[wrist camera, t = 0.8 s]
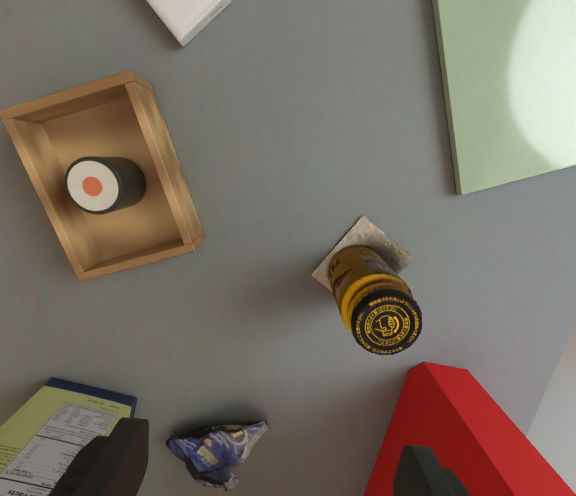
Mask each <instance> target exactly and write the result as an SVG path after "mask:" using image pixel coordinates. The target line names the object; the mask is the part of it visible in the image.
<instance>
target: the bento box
mask: <svg viewBox="0 0 576 496" xmlns="http://www.w3.org/2000/svg"><path fill="white" fill-rule="evenodd" d="M0 116H1V119H2V120H3V123H4V125H5V127H6V129H7V131H8V133H9V135H10V137H11V140H12V142H13V144H14V146H15V148H16V150H17V152H18V154H19V156H20V158H21V160H22V163H23V165H24V167H25V169H26V171H27V173H28V175H29V177H30V179H31V181H32V183H33V186H34V188H35V190H36V192H37V194H38V196H39V198H40V200H41V202H42V204H43V206H44V209H45V211H46V213H47V215H48V217H49V219H50V221H51V223H52V225H53V227H54V230H55V232H56V234H57V236H58V238H59V240H60V242H61V244H62V246H63V248H64V250H65V253H66V255H67V257H68V259H69V261H70V263H71V265H72V267H73V269H74V271H75V273H76V274H77V277H78V279H79V281H85V280H88V279H92V278H96V277H99V276H103V275H107V274H111V273H114V272H118V271H122V270H126V269H129V268H133V267H137V266H140V265H144V264H148V263H152V262H155V261H159V260H163V259H167V258H170V257H174V256H178V255H182V254H185V253H189V252H193V251H195V250H196V249H197V248H198V247H199V246H200V245H201V244H202V243H203V242H204V241H205V240H206V238H205V235H204V232H203V230H202V227H201V224H200V221H199V218H198V215H197V213H196V210H195V207H194V204H193V201H192V198H191V195H190V193H189V190H188V187H187V184H186V181H185V178H184V175H183V173H182V170H181V167H180V164H179V161H178V158H177V155H176V153H175V150H174V147H173V144H172V141H171V138H170V136H169V133H168V130H167V127H166V124H165V121H164V118H163V116H162V113H161V110H160V107H159V104H158V101H157V98H156V96H155V93H154V90H153V87H152V84H151V83H150V82H149V81H147V80H145V79H143V78H142V77H140V76H138V75H136V74H135V73H133V72H131V71H125V72H122V73H119V74H116V75H113V76H109V77H106V78H103V79H100V80H96V81H93V82H90V83H87V84H83V85H80V86H77V87H74V88H71V89H67V90H64V91H61V92H58V93H54V94H51V95H48V96H45V97H42V98H38V99H35V100H32V101H29V102H25V103H22V104H19V105H16V106H12V107H9V108H6V109H3V110H0ZM88 156H96V157H123V158H127V159H129V160H131V161H133V162H134V163H136V164H137V165H138V166H139V167H140V169H141V170H142V172H143V174H144V176H145V179H146V192H145V194H144V196H143V198H142V199H141V200H140V201H139V202H138V203H137V204H135V205H133V206H130V207H127V208H123V209H120V210H117V211H113V212H110V213H106V214H101V215H96V214H90V213H87V212H85V211H83V210H81V209H80V208H78V207H77V206H76V205H75V204H74V203H73V202H72V201H71V199H70V198H69V196H68V194H67V191H66V188H65V174H66V171H67V169H68V167H69V166H70V165H71V164H72V163H73V162H74V161H75V160H77V159H79V158H82V157H88Z"/></svg>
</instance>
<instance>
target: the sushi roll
mask: <svg viewBox="0 0 576 496" xmlns="http://www.w3.org/2000/svg"><path fill="white" fill-rule="evenodd" d="M65 188H66V191H67V194H68V196H69V198H70V199H71V201H72V202H73V203H74V204H75V205H76V206H77V207H78V208H80V209H81V210H83V211H85V212H87V213H90V214H96V215H101V214H106V213H110V212H113V211H117V210H120V209H123V208H127V207H130V206H133V205H135V204H137V203H138V202H139V201H140V200H141V199H142V198H143V196H144V194H145V192H146V179H145V176H144V174H143V172H142V170H141V169H140V167H139V166H138V165H137V164H136V163H134V162H133V161H131V160H129V159H127V158H123V157H96V156H88V157H82V158H79V159H77V160H75V161H74V162H73V163H72V164H71V165H70V166H69V167H68V169H67V171H66V174H65Z"/></svg>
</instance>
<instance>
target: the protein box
mask: <svg viewBox="0 0 576 496" xmlns="http://www.w3.org/2000/svg"><path fill="white" fill-rule="evenodd" d="M136 401H137V399H136V398H135V397H131V396H126V395H122V394H118V393H114V392H110V391H106V390H102V389H97V388H93V387H89V386H85V385H80V384H76V383H72V382H68V381H64V380H60V379H56V378H51V379H50V380H49V381H48V382H47V383H46V384H45V385H44V386H43V387H42V388H41V389H40V390H39V391H38V392H37V393H36V394H34V395H33V396H32V397H31V398H30V399H29V400H28V401H27V402H26V403H25V404H24V405H23V406H22V407H21V408H20V409H18V410H17V411H16V412H15V413H14V414H13V415H12V416H11V417H10V418H9V419H8V420H7V421H6V422H5V423H4V424H3V425H1V426H0V496H48V494H49V493H50V492H51V490H52V489H54V487H55V484H56V483H57V482H58V480H59V479H60V477H61V476H62V474H63V473H65V472H66V469H67V467H68V466H69V464H70V463H71V462H72V460H73V459H74V457H75V456H76V454H77V453H78V452H79V450H80V449H82V448H83V447H84V446H85V445H86V444H88V443H89V442H90V441H91V440H93V439H94V438H95V437H96V436H97V435H100V436H109V435H110V433H111V432H112V430H113V428H114V427H115V425H116V424H117V422H118V421H119V420H120V418H122V417H128V418H133V416H134V411H135V406H136Z"/></svg>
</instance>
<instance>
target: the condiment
mask: <svg viewBox="0 0 576 496" xmlns="http://www.w3.org/2000/svg"><path fill="white" fill-rule="evenodd" d="M412 259H413V257H412V256H411V255H410V254H408V253H407V252H406V251H405V250H404V249H402V248H401V247H400V246H399V245H397V244H396V243H395V242H394V241H393V240H392V239H390V238H389V237H388V236H387V235H386V234H384V233H383V232H382V231H381V230H380V229H378V228H377V227H376V226H375V225H374V224H373V223H371V222H370V221H369V220H368V219H367V218H365V217H364V216H362V217H361V218H360V219H359V221H358V222H357V223H356V224H355V225H354V226H353V227H352V229H351V230H350V231H349V232H348V233H347V234H346V235H345V237H344V238H343V239H342V240H341V241H340V242H339V243H338V244H337V246H336V247H335V248H334V249H333V250H332V251H331V252H330V253H329V255H328V256H327V257H326V258H325V259H324V260H323V261H322V263H321V264H320V265H319V266H318V267H317V268H316V269H315V271H314V272H313V273H312V274H311V277H313V278H314V279H315V280H317V281H318V282H319V283H321V284H322V285H323V286H325V287H326V288H327V289H329V290H330V291H331V292H333V295H334V297H335V300H336V303H337V306H338V308H339V311H340V315H341V317H342V319H343V322H344V324H345V325H346V327H347V328H348V329H349V330H350V331H351V332H352V334H353V336H354V337H355V339H356V342H357V343H358V344H359V345H361V346H362V347H363V348H364V349H366V350H367V351H369V352H371V353H375V354H379V355H389V354H391V355H393V354H396V353H399V352H401V351H403V350H405V349H407V348H409V347H410V346H411V345H412V344H413V343H414V342H415V341H416V340H417V338H418V336H419V335H420V333H421V329H422V316H421V315H422V313H421V310H420V307H419V306H418V305H417V302H416V301H415V300H414V299H413V296H412V293H411V291H410V288H409V287H408V286H407V285H406V284H405V282H404V281H403V280H402V279H401V278H400V277H399V276H398V273H399V272H400V271H401V270H402V269H403V268H405V267H406V266H407V265H408V264H409V262H410V261H411V260H412Z"/></svg>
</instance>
